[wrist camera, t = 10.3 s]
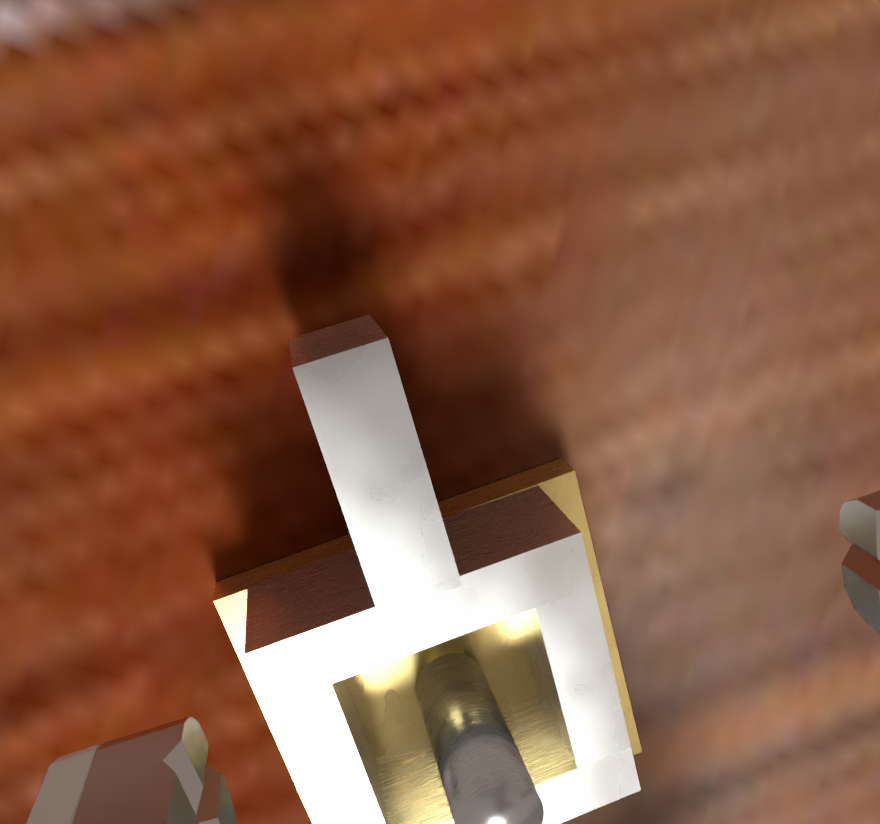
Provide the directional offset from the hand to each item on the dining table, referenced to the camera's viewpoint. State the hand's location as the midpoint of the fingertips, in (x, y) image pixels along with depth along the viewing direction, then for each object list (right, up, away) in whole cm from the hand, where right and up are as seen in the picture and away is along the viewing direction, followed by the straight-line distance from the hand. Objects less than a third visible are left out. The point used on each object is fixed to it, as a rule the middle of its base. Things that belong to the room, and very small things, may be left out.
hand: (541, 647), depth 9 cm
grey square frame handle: (-2, -1, +11) cm, 11 cm away
